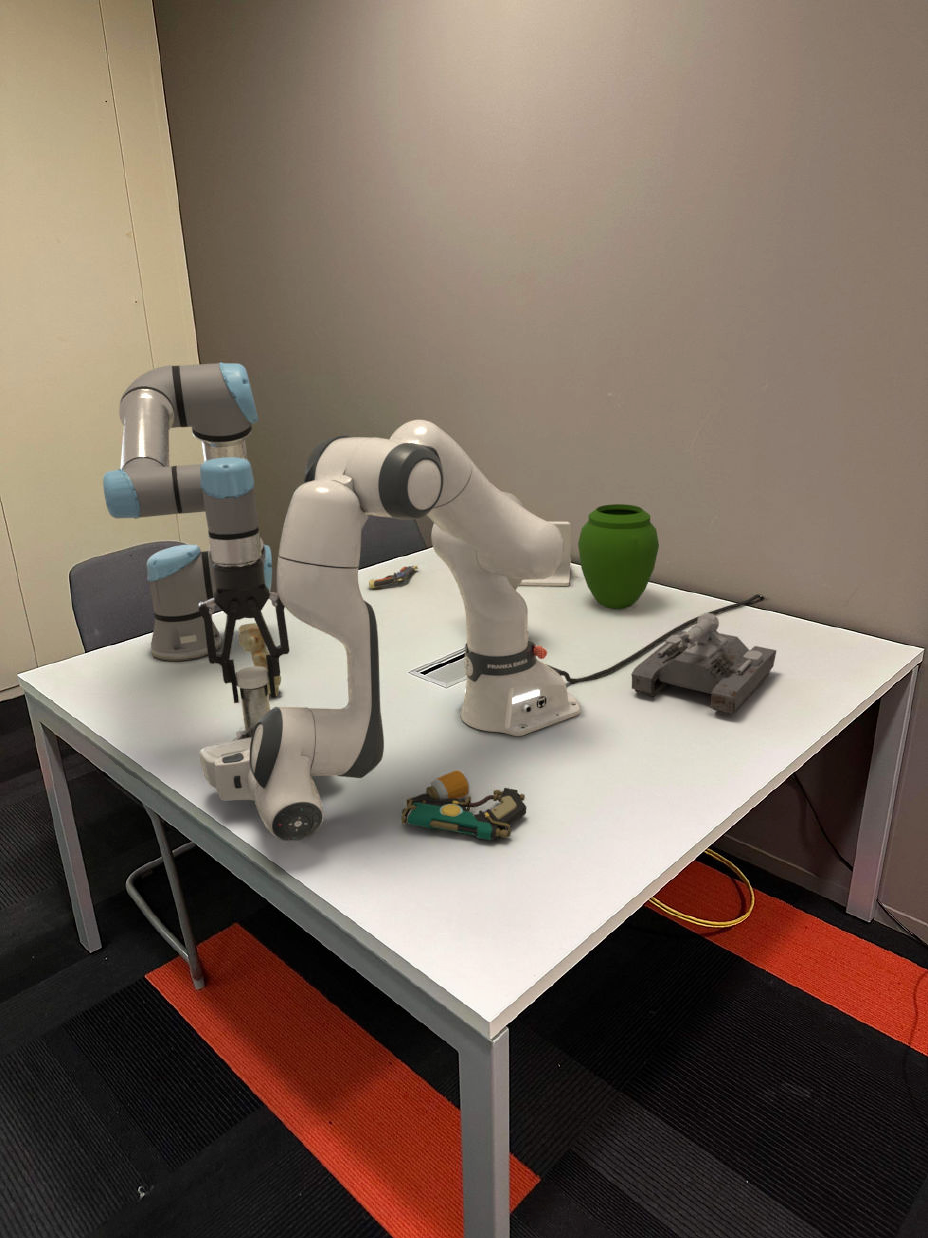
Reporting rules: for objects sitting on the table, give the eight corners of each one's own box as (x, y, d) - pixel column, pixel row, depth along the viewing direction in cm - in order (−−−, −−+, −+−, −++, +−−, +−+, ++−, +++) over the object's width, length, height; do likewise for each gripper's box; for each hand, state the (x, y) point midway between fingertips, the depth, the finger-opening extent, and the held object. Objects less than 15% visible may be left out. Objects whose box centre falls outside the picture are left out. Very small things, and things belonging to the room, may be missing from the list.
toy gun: (366, 581, 230) (401, 578, 228) (385, 565, 248) (418, 562, 246) (367, 590, 231) (403, 587, 228) (386, 574, 248) (419, 571, 246)
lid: (247, 673, 142) (246, 664, 141) (276, 677, 140) (275, 668, 140) (229, 687, 137) (227, 677, 137) (258, 691, 135) (257, 681, 135)
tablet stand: (569, 585, 229) (570, 524, 223) (476, 584, 232) (475, 523, 226) (570, 566, 246) (571, 508, 240) (484, 564, 249) (483, 507, 243)
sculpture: (247, 690, 173) (238, 621, 168) (283, 687, 174) (275, 618, 168) (243, 702, 168) (234, 631, 162) (281, 700, 168) (273, 629, 163)
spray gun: (537, 812, 130) (487, 868, 119) (446, 778, 138) (391, 827, 127) (539, 789, 129) (488, 844, 117) (446, 756, 137) (390, 804, 125)
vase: (599, 587, 227) (601, 497, 218) (668, 600, 216) (673, 505, 208) (562, 608, 212) (564, 513, 204) (634, 623, 202) (639, 523, 193)
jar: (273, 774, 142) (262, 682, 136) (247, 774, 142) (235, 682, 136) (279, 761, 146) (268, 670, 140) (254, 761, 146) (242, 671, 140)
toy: (680, 652, 185) (684, 586, 179) (774, 672, 174) (781, 603, 168) (629, 696, 166) (633, 623, 160) (731, 721, 154) (738, 645, 149)
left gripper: (294, 548, 137) (308, 679, 145) (176, 560, 132) (197, 695, 141) (299, 560, 130) (313, 698, 139) (174, 574, 126) (196, 715, 134)
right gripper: (339, 737, 133) (317, 702, 145) (204, 766, 126) (193, 727, 138) (342, 772, 136) (320, 734, 148) (210, 803, 128) (198, 761, 140)
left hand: (254, 696), depth 140 cm, fingers closed on lid, 5 cm apart
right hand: (258, 731), depth 143 cm, fingers closed on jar, 4 cm apart
